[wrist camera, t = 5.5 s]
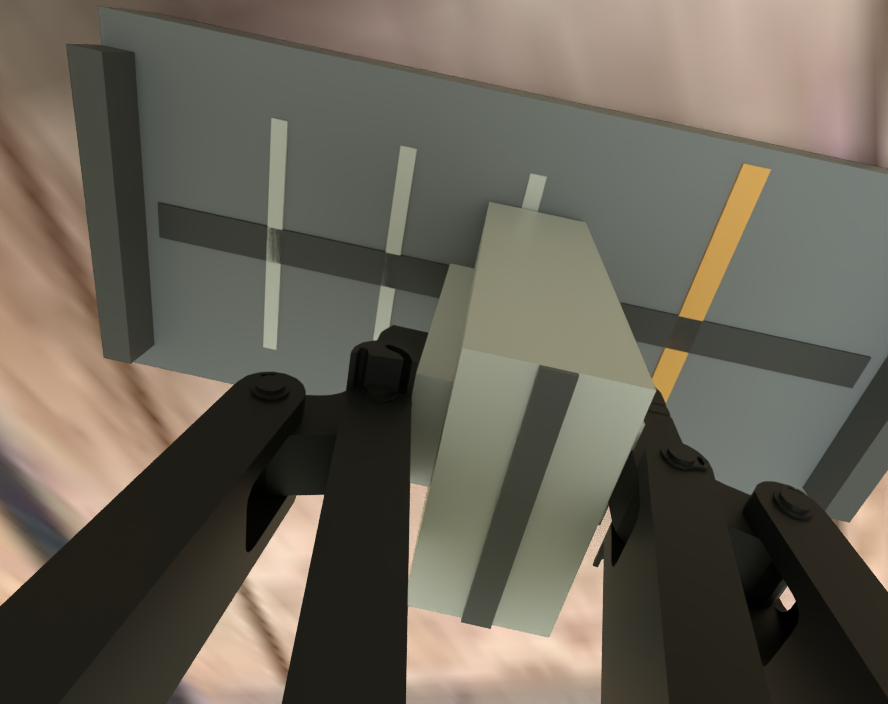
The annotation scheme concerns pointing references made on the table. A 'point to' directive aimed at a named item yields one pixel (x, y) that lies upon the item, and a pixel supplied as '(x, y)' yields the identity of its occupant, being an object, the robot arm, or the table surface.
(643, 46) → the table surface
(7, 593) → the table surface
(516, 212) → the fader handle
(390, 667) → the robot arm
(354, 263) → the fader console
